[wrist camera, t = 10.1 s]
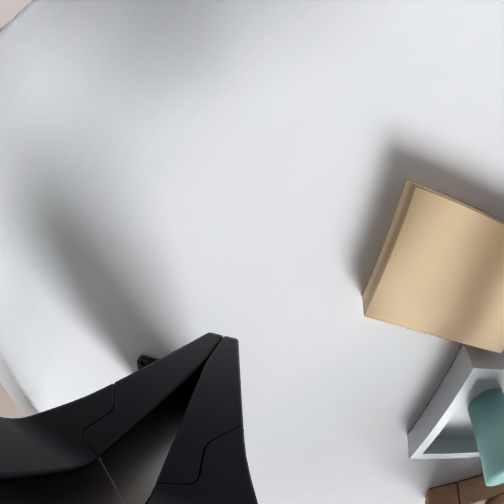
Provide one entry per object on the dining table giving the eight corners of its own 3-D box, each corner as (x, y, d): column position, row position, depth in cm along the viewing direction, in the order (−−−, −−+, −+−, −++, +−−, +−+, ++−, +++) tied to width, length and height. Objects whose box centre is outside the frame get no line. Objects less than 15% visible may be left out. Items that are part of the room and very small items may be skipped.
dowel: (461, 416, 18) (476, 488, 12) (480, 387, 17) (504, 462, 11) (490, 415, 18) (508, 483, 11) (509, 388, 16) (536, 457, 10)
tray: (407, 435, 21) (409, 458, 19) (463, 343, 17) (473, 367, 15) (495, 434, 19) (500, 454, 17) (553, 351, 15) (566, 371, 13)
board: (361, 292, 18) (364, 316, 16) (404, 177, 15) (416, 186, 13) (488, 330, 17) (501, 353, 14) (535, 237, 14) (555, 252, 11)
